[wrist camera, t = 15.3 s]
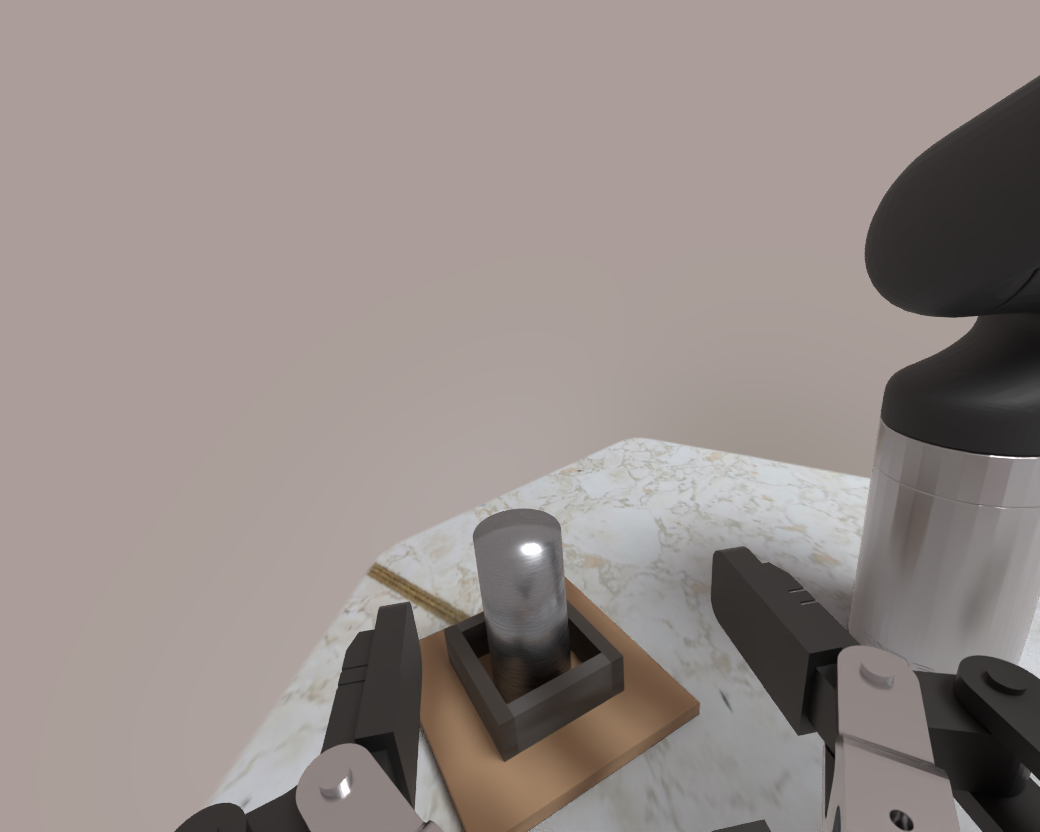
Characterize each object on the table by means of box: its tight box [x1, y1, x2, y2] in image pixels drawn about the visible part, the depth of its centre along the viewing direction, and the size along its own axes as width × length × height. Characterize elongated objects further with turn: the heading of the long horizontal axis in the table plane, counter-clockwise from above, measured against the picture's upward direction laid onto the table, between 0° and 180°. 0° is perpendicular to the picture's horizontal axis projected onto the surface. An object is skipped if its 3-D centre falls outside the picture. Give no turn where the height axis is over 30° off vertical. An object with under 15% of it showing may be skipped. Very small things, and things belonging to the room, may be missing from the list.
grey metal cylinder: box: [473, 509, 572, 704], centre depth 34 cm, size 6×6×12 cm
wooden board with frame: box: [419, 576, 699, 832], centre depth 36 cm, size 16×16×4 cm
